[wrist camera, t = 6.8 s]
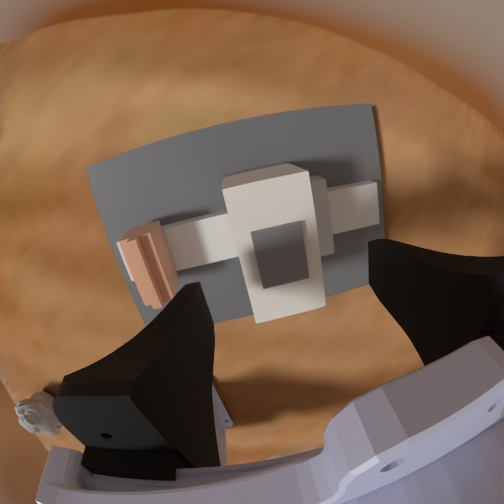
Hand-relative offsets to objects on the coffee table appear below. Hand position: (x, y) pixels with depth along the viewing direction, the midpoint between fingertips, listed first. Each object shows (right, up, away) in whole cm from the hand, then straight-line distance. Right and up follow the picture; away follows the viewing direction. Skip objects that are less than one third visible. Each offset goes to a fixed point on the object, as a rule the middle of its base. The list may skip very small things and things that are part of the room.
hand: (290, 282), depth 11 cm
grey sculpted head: (-29, -18, +15) cm, 37 cm away
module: (-1, +3, +8) cm, 8 cm away
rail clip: (-8, +1, +6) cm, 10 cm away
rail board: (-2, +3, +9) cm, 9 cm away
